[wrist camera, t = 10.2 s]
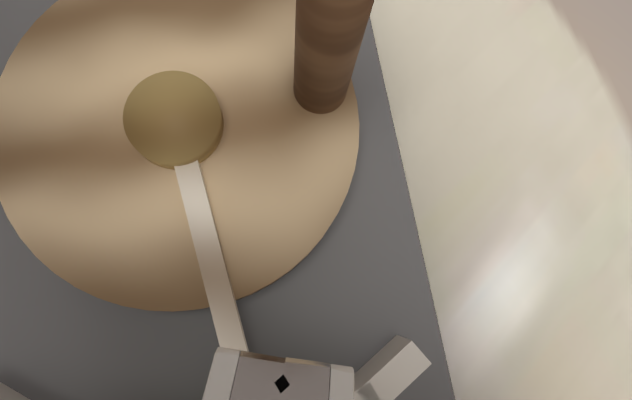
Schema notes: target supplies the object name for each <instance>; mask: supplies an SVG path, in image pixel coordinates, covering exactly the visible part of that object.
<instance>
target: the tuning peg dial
mask: <svg viewBox="0 0 632 400" xmlns="http://www.w3.org/2000/svg"><path fill="white" fill-rule="evenodd" d="M373 3H374V0H58V1H57V2H55V3H54V4H53V5H52V6H51V7H50V8H49V9H47V10H46V11H45V12H44V13H43V14H42V15H41V16H40V17H39V18H38V19H37V20H36V21H35V22H34V24H33V25H32V26H31V27H30V28H29V30H28V31H27V32H26V33H25V35H24V36H23V37H22V38H21V40H20V41H19V43H18V45H17V46H16V48H15V49H14V51H13V53H12V54H11V56H10V57H9V59H8V61H7V64H6V66H5V68H4V70H3V72H2V75H1V77H0V202H1V204H2V207H3V209H4V211H5V213H6V216H7V218H8V219H9V221H10V223H11V224H12V226H13V227H14V229H15V231H16V232H17V234H18V236H19V237H20V239H21V240H22V241H23V242H24V243H25V245H26V246H27V247H28V248H29V249H30V250H31V252H32V253H33V254H34V255H35V256H36V257H37V258H38V259H39V260H40V261H41V262H42V263H43V264H44V265H46V266H47V267H48V268H49V269H50V270H51V271H52V272H53V273H55V274H56V275H58V276H59V277H61V278H62V279H64V280H65V281H67V282H68V283H70V284H71V285H73V286H74V287H76V288H78V289H80V290H82V291H84V292H86V293H88V294H90V295H92V296H94V297H97V298H99V299H102V300H105V301H108V302H111V303H114V304H118V305H121V306H125V307H131V308H136V309H142V310H148V311H171V312H174V311H186V310H197V309H203V308H208V307H210V310H211V314H212V318H213V322H214V326H215V330H216V334H217V338H218V342H219V346H220V347H223V348H230V349H236V350H242V351H248V352H249V350H248V346H247V343H246V339H245V335H244V331H243V327H242V324H241V320H240V316H239V312H238V308H237V304H236V301H235V300H238V299H241V298H244V297H246V296H249V295H252V294H254V293H255V292H257V291H259V290H261V289H263V288H265V287H267V286H269V285H271V284H273V283H274V282H275V281H277V280H278V279H280V278H281V277H283V276H284V275H285V274H287V273H288V272H290V271H291V270H292V269H293V268H294V267H295V266H297V265H298V264H299V263H300V262H301V261H302V260H303V259H304V258H305V257H306V256H307V255H308V254H309V253H310V252H311V251H312V250H313V248H314V247H315V246H316V245H317V244H318V242H319V241H320V240H321V239H322V238H323V236H324V234H325V233H326V231H327V230H328V228H329V227H330V225H331V224H332V222H333V220H334V219H335V217H336V216H337V214H338V212H339V210H340V208H341V206H342V204H343V202H344V199H345V197H346V195H347V193H348V190H349V187H350V184H351V181H352V177H353V174H354V171H355V166H356V160H357V154H358V148H359V115H358V105H357V99H356V95H355V91H354V87H353V83H352V79H351V77H352V73H353V70H354V67H355V63H356V60H357V56H358V53H359V50H360V46H361V43H362V40H363V36H364V33H365V30H366V26H367V23H368V20H369V16H370V13H371V9H372V6H373Z"/></svg>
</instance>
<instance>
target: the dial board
mask: <svg viewBox="0 0 632 400" xmlns="http://www.w3.org/2000/svg"><path fill="white" fill-rule="evenodd" d="M57 1H58V0H0V77H1V75H2V72H3V70H4V68H5V66H6V64H7V61H8V59H9V57H10V56H11V54H12V53H13V51H14V49H15V48H16V46H17V45H18V43H19V41H20V40H21V38H22V37H23V36H24V35H25V33H26V32H27V31H28V30H29V28H30V27H31V26H32V25H33V24H34V22H35V21H36V20H37V19H38V18H39V17H40V16H41V15H42V14H43V13H44V12H45V11H46V10H47V9H49V8H50V7H51V6H52V5H53V4H54V3H55V2H57ZM351 79H352V83H353V87H354V91H355V95H356V99H357V105H358V115H359V148H358V154H357V160H356V166H355V171H354V174H353V177H352V181H351V184H350V187H349V190H348V193H347V195H346V197H345V199H344V202H343V204H342V206H341V208H340V210H339V212H338V214H337V216H336V217H335V219H334V220H333V222H332V224H331V225H330V227H329V228H328V230H327V231H326V233H325V234H324V236H323V238H322V239H321V240H320V241H319V242H318V244H317V245H316V246H315V247H314V248H313V250H312V251H311V252H310V253H309V254H308V255H307V256H306V257H305V258H304V259H303V260H302V261H301V262H300V263H299V264H298V265H297V266H295V267H294V268H293V269H292V270H291V271H290V272H288V273H287V274H285V275H284V276H283V277H281V278H280V279H278V280H277V281H275V282H274V283H273V284H271V285H269V286H267V287H265V288H263V289H261V290H259V291H257V292H255V293H254V294H252V295H249V296H246V297H244V298H241V299H238V300H235V301H236V304H237V308H238V312H239V316H240V320H241V324H242V327H243V331H244V335H245V339H246V343H247V346H248V350H249V352H253V353H259V354H265V355H270V356H276V357H282V358H285V357H288V358H296V359H303V360H311V361H318V362H326V363H330V364H335V365H342V366H350V367H353V369H354V400H455V397H454V393H453V388H452V384H451V379H450V375H449V370H448V366H447V361H446V357H445V352H444V348H443V343H442V339H441V334H440V330H439V325H438V321H437V317H436V312H435V308H434V303H433V299H432V294H431V290H430V285H429V281H428V276H427V272H426V267H425V263H424V258H423V254H422V249H421V245H420V240H419V236H418V232H417V227H416V223H415V218H414V214H413V209H412V205H411V200H410V196H409V191H408V187H407V182H406V178H405V173H404V169H403V164H402V160H401V155H400V151H399V147H398V142H397V138H396V133H395V129H394V124H393V120H392V115H391V111H390V106H389V102H388V97H387V93H386V88H385V84H384V79H383V75H382V70H381V66H380V61H379V57H378V53H377V48H376V44H375V39H374V35H373V30H372V26H371V21H370V17H369V20H368V23H367V26H366V30H365V33H364V36H363V40H362V43H361V46H360V50H359V53H358V56H357V60H356V63H355V67H354V70H353V73H352V77H351ZM218 347H220V346H219V342H218V338H217V334H216V330H215V326H214V322H213V318H212V314H211V310H210V307H208V308H203V309H197V310H186V311H174V312H171V311H148V310H142V309H136V308H131V307H125V306H121V305H118V304H114V303H111V302H108V301H105V300H102V299H99V298H97V297H94V296H92V295H90V294H88V293H86V292H84V291H82V290H80V289H78V288H76V287H74V286H73V285H71V284H70V283H68V282H67V281H65V280H64V279H62V278H61V277H59V276H58V275H56V274H55V273H53V272H52V271H51V270H50V269H49V268H48V267H47V266H46V265H44V264H43V263H42V262H41V261H40V260H39V259H38V258H37V257H36V256H35V255H34V254H33V253H32V252H31V250H30V249H29V248H28V247H27V246H26V245H25V243H24V242H23V241H22V240H21V239H20V237H19V236H18V234H17V232H16V231H15V229H14V227H13V226H12V224H11V223H10V221H9V219H8V218H7V216H6V213H5V211H4V209H3V207H2V204H1V202H0V400H202V398H203V394H204V391H205V387H206V384H207V380H208V376H209V373H210V369H211V365H212V362H213V358H214V354H215V352H216V350H217V348H218Z"/></svg>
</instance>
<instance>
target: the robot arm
mask: <svg viewBox="0 0 632 400" xmlns="http://www.w3.org/2000/svg"><path fill="white" fill-rule="evenodd" d="M202 400H354V369H353V367H350V366H342V365H335V364H330V363H326V362H318V361H311V360H303V359H296V358H288V357H285V358H282V357H276V356H270V355H265V354H259V353H253V352H248V351H242V350H236V349H230V348H223V347H218V348H217V350H216V352H215V354H214V358H213V362H212V365H211V369H210V373H209V376H208V380H207V384H206V387H205V391H204V394H203V398H202Z"/></svg>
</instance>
